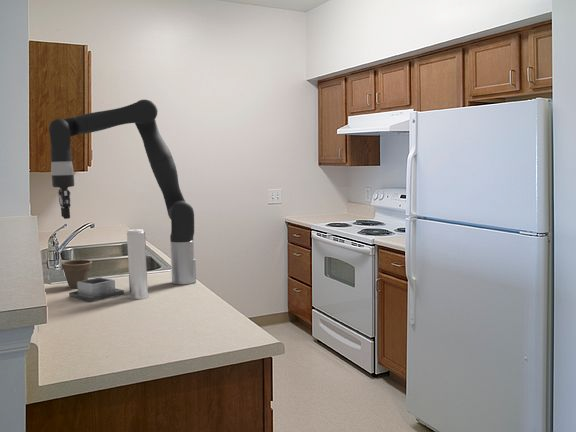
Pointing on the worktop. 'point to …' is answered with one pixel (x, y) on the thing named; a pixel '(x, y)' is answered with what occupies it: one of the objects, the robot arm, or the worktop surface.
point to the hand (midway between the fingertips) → (65, 217)
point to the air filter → (137, 264)
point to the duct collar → (96, 289)
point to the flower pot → (76, 271)
